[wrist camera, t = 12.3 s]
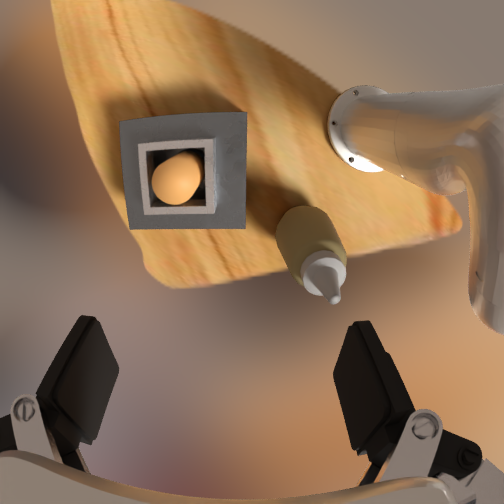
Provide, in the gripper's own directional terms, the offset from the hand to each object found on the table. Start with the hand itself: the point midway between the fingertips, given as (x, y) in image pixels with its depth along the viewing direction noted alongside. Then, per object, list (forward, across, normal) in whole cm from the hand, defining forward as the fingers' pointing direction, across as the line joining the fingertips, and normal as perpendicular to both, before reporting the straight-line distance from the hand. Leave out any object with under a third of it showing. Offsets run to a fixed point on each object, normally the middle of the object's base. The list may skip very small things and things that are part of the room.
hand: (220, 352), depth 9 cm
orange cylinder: (+27, +6, -2) cm, 28 cm away
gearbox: (+30, +6, -2) cm, 31 cm away
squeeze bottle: (+31, -9, +7) cm, 33 cm away
